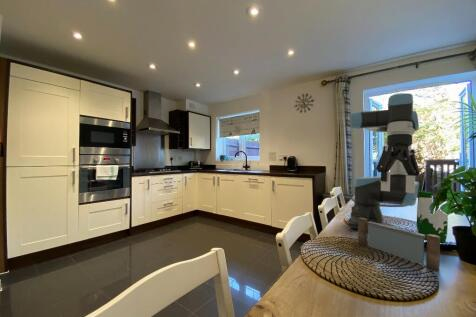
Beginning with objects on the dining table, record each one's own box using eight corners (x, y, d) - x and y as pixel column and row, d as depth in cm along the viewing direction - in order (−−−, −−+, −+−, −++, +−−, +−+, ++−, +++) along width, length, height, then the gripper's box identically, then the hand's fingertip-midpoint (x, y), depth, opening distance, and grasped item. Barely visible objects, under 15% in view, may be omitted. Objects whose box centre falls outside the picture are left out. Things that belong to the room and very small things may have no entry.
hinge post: (360, 242, 84) (360, 217, 84) (368, 245, 82) (368, 219, 82) (356, 244, 82) (356, 218, 82) (364, 247, 80) (364, 220, 80)
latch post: (427, 265, 67) (428, 233, 67) (440, 269, 65) (441, 236, 65) (424, 267, 65) (425, 235, 65) (437, 272, 63) (438, 238, 63)
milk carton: (415, 236, 91) (416, 189, 91) (444, 241, 86) (446, 192, 86) (417, 242, 84) (418, 192, 84) (448, 249, 79) (450, 195, 79)
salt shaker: (364, 232, 95) (364, 206, 95) (349, 231, 96) (350, 205, 96) (359, 228, 101) (359, 203, 100) (345, 227, 102) (346, 202, 101)
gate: (366, 245, 80) (367, 222, 80) (369, 244, 81) (369, 221, 81) (422, 264, 66) (423, 236, 66) (424, 263, 67) (425, 234, 67)
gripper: (386, 128, 72) (384, 191, 70) (432, 138, 81) (431, 194, 79) (366, 131, 79) (364, 189, 77) (410, 140, 88) (409, 192, 86)
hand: (398, 192), depth 78 cm, fingers open, 13 cm apart
